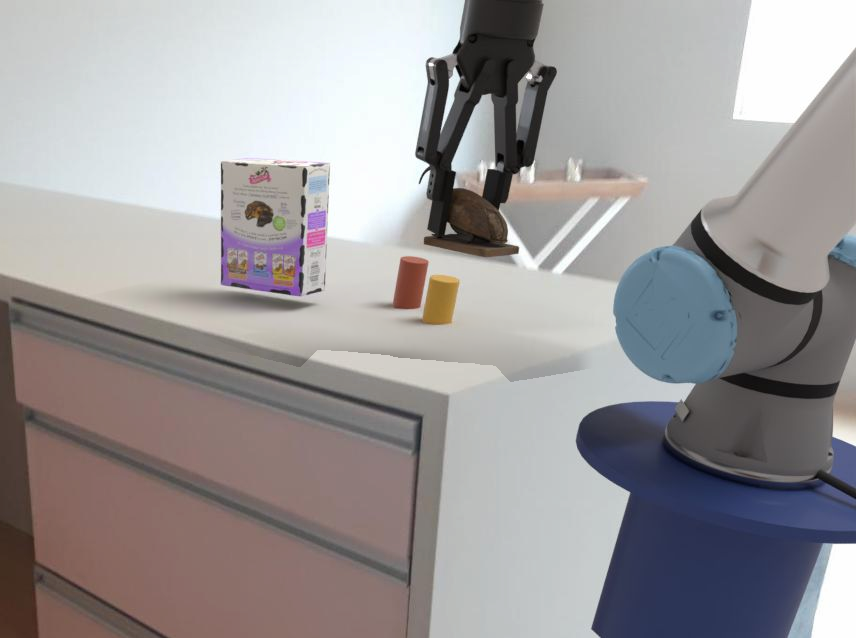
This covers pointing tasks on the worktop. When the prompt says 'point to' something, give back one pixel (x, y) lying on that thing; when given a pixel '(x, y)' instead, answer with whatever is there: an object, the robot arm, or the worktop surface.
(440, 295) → the yellow cylinder
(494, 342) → the worktop surface
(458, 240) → the ibis bird sculpture
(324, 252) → the snack box
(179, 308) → the worktop surface
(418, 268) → the red cylinder
